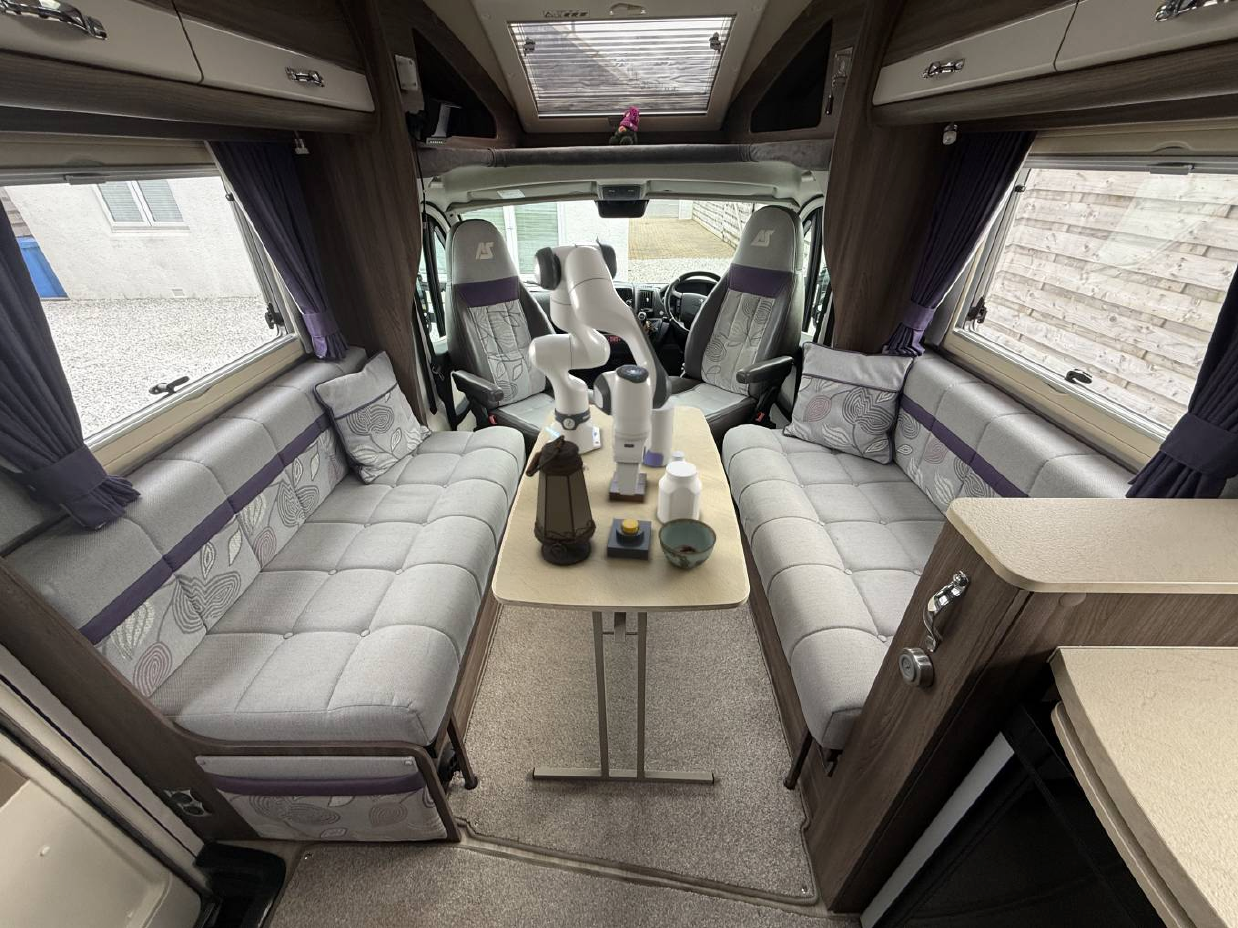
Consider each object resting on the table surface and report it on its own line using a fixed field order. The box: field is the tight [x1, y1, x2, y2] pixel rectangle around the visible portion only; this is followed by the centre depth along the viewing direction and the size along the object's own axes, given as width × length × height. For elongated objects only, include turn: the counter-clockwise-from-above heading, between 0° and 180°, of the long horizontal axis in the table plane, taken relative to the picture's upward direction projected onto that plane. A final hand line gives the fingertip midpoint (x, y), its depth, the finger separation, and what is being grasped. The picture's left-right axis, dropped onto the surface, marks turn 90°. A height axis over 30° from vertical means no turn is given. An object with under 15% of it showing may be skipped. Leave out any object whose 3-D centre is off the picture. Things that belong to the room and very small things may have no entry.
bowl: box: [658, 518, 717, 570], centre depth 119 cm, size 14×13×8 cm
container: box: [642, 399, 675, 468], centre depth 161 cm, size 10×10×20 cm
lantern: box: [524, 435, 597, 567], centre depth 118 cm, size 18×15×30 cm
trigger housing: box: [606, 518, 652, 561], centre depth 126 cm, size 12×10×5 cm
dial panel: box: [608, 470, 648, 504], centre depth 148 cm, size 12×10×3 cm
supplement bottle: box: [667, 450, 687, 465], centre depth 151 cm, size 5×5×10 cm
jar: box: [656, 460, 703, 524], centre depth 134 cm, size 12×10×15 cm
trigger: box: [622, 518, 638, 533], centre depth 124 cm, size 4×4×2 cm
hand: (630, 490), depth 119 cm, fingers closed
